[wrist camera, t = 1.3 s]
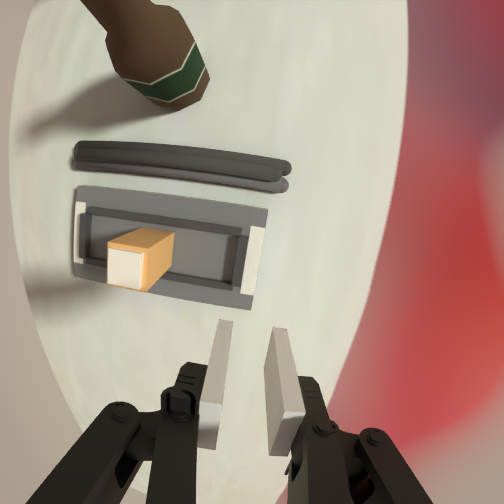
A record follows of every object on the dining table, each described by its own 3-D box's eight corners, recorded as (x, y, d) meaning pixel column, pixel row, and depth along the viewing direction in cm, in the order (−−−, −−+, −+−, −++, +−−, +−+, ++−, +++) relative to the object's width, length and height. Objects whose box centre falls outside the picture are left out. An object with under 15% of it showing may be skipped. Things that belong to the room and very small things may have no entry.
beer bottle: (179, 124, 32) (65, 38, 8) (138, 90, 31) (16, 3, 7) (224, 79, 31) (185, -61, 7) (181, 47, 29) (108, -79, 6)
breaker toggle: (142, 227, 32) (104, 243, 23) (174, 232, 32) (145, 250, 23) (140, 260, 33) (103, 286, 24) (171, 265, 33) (143, 295, 24)
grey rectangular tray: (85, 185, 33) (71, 186, 30) (267, 208, 34) (269, 211, 31) (81, 271, 36) (69, 279, 32) (250, 304, 37) (250, 315, 33)
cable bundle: (76, 169, 33) (63, 168, 30) (80, 141, 32) (67, 138, 29) (286, 194, 34) (289, 194, 31) (291, 162, 33) (295, 160, 30)
